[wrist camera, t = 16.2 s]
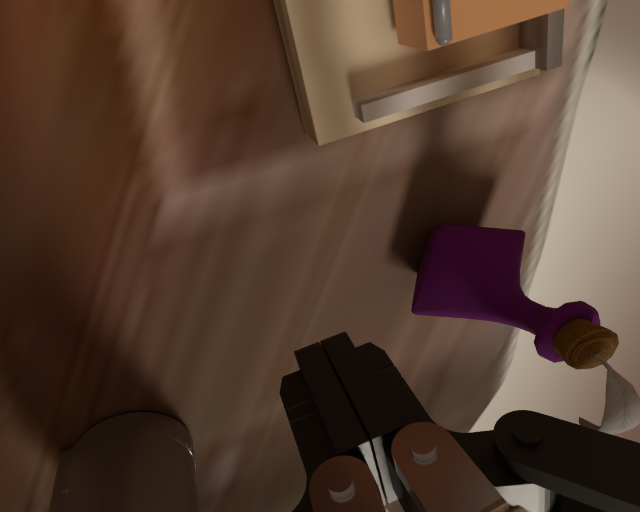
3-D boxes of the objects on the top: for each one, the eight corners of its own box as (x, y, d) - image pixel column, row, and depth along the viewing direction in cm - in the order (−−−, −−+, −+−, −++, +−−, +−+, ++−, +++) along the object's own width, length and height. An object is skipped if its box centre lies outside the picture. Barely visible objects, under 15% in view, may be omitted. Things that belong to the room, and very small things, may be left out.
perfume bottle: (419, 206, 36) (608, 361, 21) (500, 214, 39) (718, 357, 24) (393, 291, 40) (541, 478, 25) (469, 293, 42) (645, 463, 27)
